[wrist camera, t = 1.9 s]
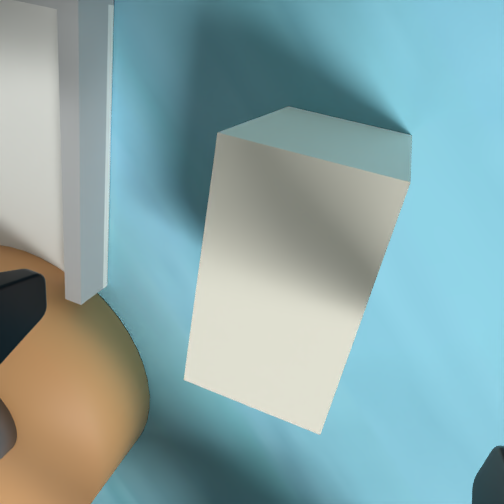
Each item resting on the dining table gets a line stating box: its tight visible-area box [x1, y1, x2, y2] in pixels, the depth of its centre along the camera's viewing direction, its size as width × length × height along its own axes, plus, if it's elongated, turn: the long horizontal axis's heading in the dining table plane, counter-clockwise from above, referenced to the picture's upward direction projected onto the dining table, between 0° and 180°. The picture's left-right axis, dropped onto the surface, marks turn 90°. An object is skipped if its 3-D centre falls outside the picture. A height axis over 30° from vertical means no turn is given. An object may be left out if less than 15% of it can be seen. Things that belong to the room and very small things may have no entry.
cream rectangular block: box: [184, 106, 412, 435], centre depth 13 cm, size 4×7×6 cm, turn 169°
